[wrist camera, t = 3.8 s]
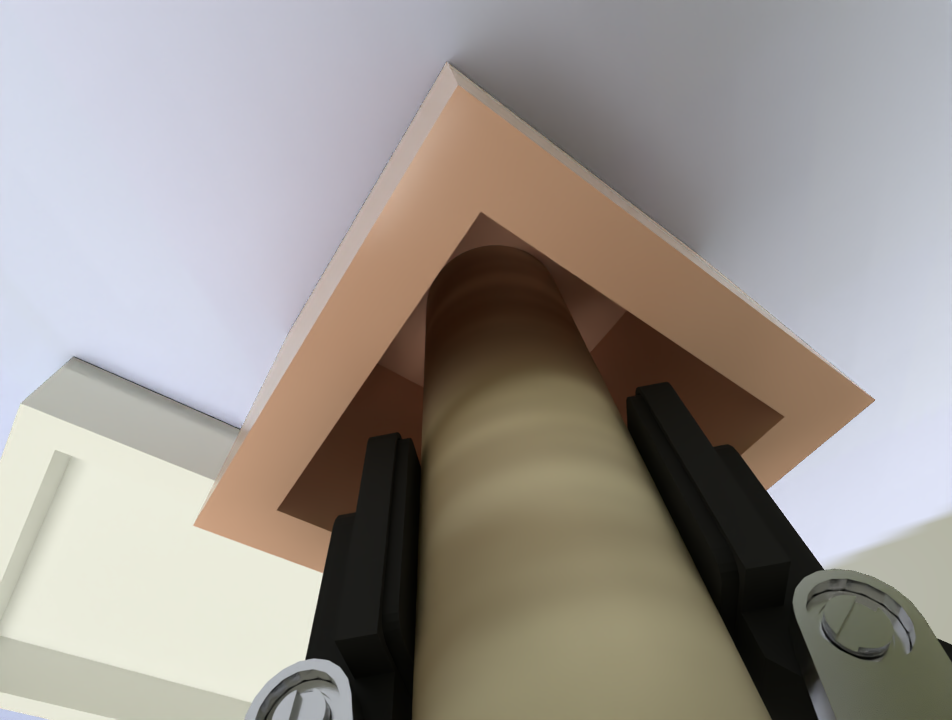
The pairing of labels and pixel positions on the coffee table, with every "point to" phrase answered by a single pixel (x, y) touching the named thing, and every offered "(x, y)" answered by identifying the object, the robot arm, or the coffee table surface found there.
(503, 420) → the birch dowel
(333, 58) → the coffee table surface
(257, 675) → the cream tray
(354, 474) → the terracotta cup
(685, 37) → the coffee table surface
